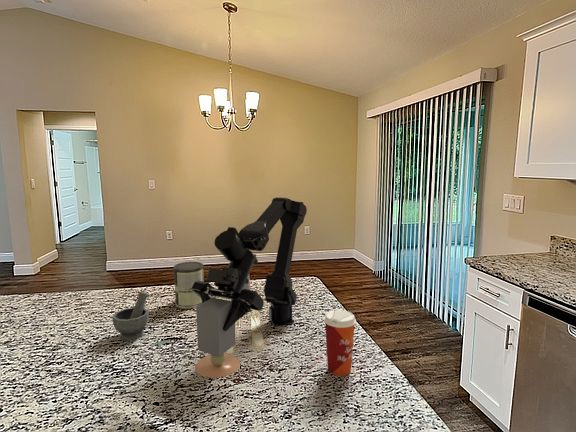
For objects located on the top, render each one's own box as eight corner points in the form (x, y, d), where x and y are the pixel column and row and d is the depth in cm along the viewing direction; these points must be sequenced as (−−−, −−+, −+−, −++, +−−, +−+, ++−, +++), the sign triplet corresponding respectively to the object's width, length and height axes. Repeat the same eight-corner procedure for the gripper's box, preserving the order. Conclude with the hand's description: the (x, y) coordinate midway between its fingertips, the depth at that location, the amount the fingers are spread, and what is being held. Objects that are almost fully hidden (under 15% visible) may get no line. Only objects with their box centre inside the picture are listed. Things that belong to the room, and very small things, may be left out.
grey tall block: (214, 339, 96) (213, 297, 94) (235, 344, 93) (234, 301, 91) (197, 350, 90) (196, 306, 89) (219, 356, 87) (217, 311, 86)
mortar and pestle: (130, 346, 105) (127, 305, 103) (107, 339, 109) (103, 299, 107) (160, 330, 115) (158, 292, 113) (138, 324, 119) (135, 287, 117)
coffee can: (169, 304, 135) (167, 266, 133) (191, 296, 144) (190, 260, 142) (188, 311, 129) (186, 271, 127) (210, 302, 138) (209, 264, 136)
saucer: (235, 355, 100) (234, 337, 99) (245, 378, 89) (244, 357, 89) (192, 363, 96) (191, 344, 95) (197, 387, 86) (196, 366, 85)
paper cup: (347, 382, 87) (348, 324, 85) (318, 372, 91) (318, 317, 89) (360, 366, 94) (361, 313, 92) (332, 358, 98) (332, 306, 96)
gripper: (194, 250, 96) (164, 306, 88) (256, 258, 88) (229, 321, 79) (215, 271, 104) (189, 325, 96) (273, 281, 96) (251, 340, 88)
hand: (212, 327), depth 90 cm, fingers closed on grey tall block, 6 cm apart
